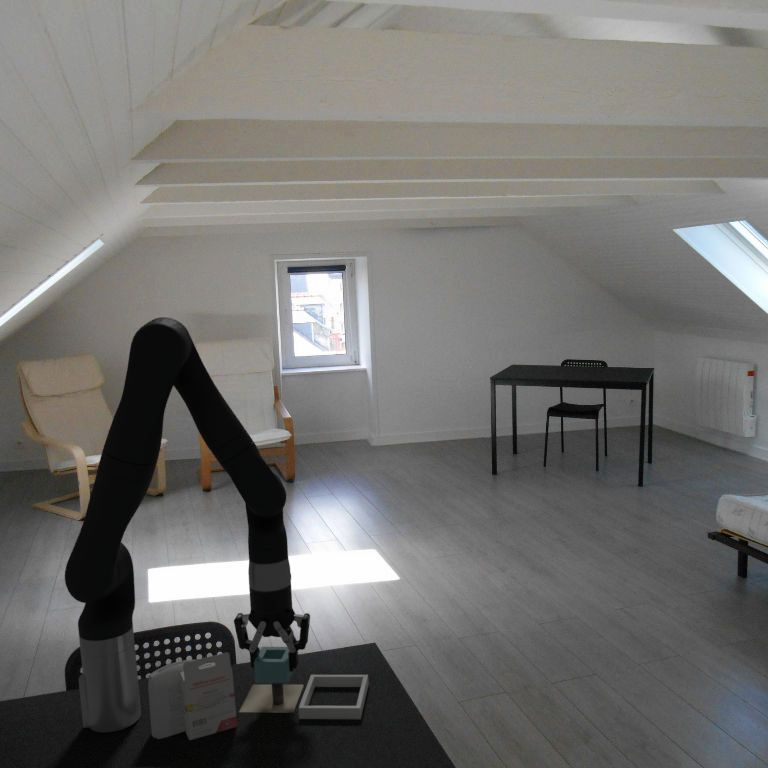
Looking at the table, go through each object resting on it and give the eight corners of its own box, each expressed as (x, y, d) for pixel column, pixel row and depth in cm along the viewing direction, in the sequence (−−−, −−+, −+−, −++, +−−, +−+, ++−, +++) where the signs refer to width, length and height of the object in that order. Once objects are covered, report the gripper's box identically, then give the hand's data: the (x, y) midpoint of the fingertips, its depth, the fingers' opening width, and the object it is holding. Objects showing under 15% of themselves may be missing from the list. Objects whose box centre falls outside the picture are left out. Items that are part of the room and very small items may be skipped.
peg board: (239, 717, 145) (237, 693, 144) (253, 689, 155) (251, 667, 154) (293, 717, 144) (291, 694, 143) (304, 689, 154) (302, 667, 153)
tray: (299, 723, 142) (298, 708, 141) (311, 689, 153) (311, 674, 153) (361, 724, 140) (360, 708, 140) (368, 689, 152) (368, 674, 152)
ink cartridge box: (230, 718, 144) (224, 641, 143) (238, 731, 140) (232, 652, 138) (183, 731, 141) (176, 652, 139) (189, 746, 136) (182, 664, 135)
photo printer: (205, 715, 146) (200, 650, 144) (213, 725, 142) (208, 659, 140) (149, 734, 140) (142, 667, 139) (155, 745, 137) (149, 677, 135)
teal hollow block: (255, 682, 144) (253, 661, 144) (265, 661, 152) (264, 641, 152) (287, 683, 144) (286, 662, 143) (296, 662, 152) (295, 642, 151)
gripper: (225, 589, 142) (231, 679, 144) (305, 589, 140) (310, 680, 142) (236, 574, 149) (242, 659, 151) (312, 574, 148) (317, 660, 150)
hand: (275, 669), depth 147 cm, fingers closed on teal hollow block, 6 cm apart
